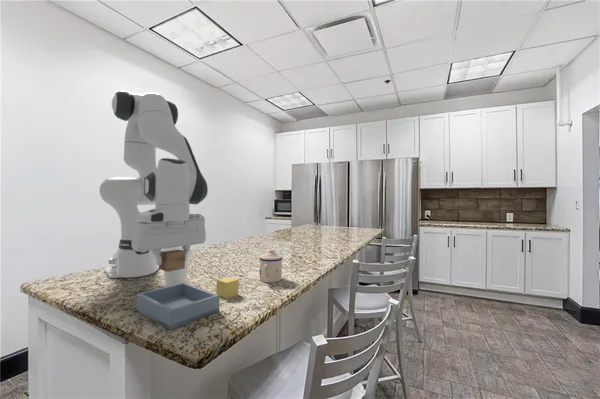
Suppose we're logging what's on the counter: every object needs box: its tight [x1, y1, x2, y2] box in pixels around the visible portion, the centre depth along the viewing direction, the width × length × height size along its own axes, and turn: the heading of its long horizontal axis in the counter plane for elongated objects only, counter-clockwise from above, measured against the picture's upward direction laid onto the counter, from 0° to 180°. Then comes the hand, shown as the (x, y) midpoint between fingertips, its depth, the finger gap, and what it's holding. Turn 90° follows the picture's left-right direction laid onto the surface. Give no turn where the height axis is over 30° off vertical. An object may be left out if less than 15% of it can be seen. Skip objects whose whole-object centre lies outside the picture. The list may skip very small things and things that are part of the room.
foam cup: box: [161, 246, 192, 287], centre depth 96 cm, size 10×9×13 cm
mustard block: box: [215, 276, 240, 299], centre depth 89 cm, size 5×5×5 cm
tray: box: [136, 282, 221, 331], centre depth 75 cm, size 18×14×4 cm
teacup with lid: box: [258, 249, 283, 284], centre depth 105 cm, size 12×9×12 cm
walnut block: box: [159, 249, 185, 272], centre depth 77 cm, size 5×5×5 cm
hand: (171, 262), depth 77 cm, fingers closed on walnut block, 5 cm apart
